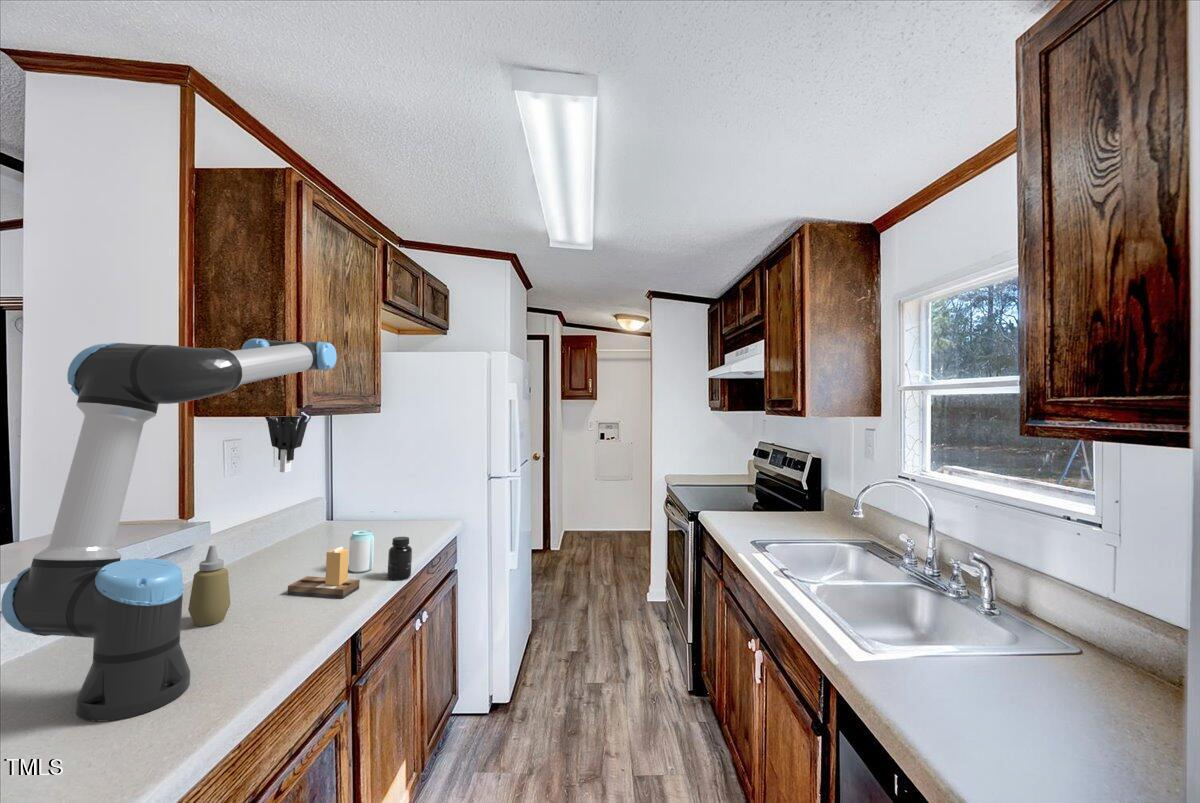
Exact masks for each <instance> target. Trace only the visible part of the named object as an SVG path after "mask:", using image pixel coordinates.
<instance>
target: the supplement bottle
mask: <svg viewBox="0 0 1200 803" xmlns="http://www.w3.org/2000/svg"><path fill="white" fill-rule="evenodd" d="M391 545H392V546H391V547H390V548H389V549H388V553H387V555H388V556H387V576H386V577H387V579H388V580H390V581H403V580H404V581H405V580H407V579H409V578H410V577H411V575H412V561H413V560H412V558H413V548H412V546H410V537H408V536H395V537H393V538H392V543H391Z"/></svg>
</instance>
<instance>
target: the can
mask: <svg viewBox="0 0 1200 803" xmlns="http://www.w3.org/2000/svg"><path fill="white" fill-rule="evenodd" d="M374 546H375V536H374V534H373V531H372V530H363V529H362V530H356V531H353V532H352V534H351V536H350V537H349V546H348V547H349V548H348V549H349V554H348V571H349V572H352V573H355V574H363V573H366V572H370V571H371V570H372V569H373V568H374V551H375V550H374V548H375V547H374Z"/></svg>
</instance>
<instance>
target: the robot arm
mask: <svg viewBox="0 0 1200 803" xmlns="http://www.w3.org/2000/svg"><path fill="white" fill-rule="evenodd" d="M337 360H338V359H337V350H336V348H335V346H334V345H333V344H332V343H331V342H322V341H305V342H296V341H276V340H269V339H264V338H250V339H248V340H246V341H245V342H244V343H243V345H242V347H241V349H237V350H229V349H227V348H223V347H210V348H208V347H207V348H204V347H193V346H182V345H181V346H180V345H171V344H170V345H169V344H145V343H129V342H128V343H127V342H126V343H125V342H111V343H100V344H99V343H98V344H94V345H91V346H89V347H86V348H84V349H82V350H81V351H80V352H78V353H77V354H76V355H75V357H73V359H72V361H71V362H70V364H69V366H68V370H67V373H66V374H67V375H66V376H67V384H68V385H70V386H71V387H70V390H71V392H73V393H74V395H75V396H77V397H78V398H77V401H76V407H77V408H78V409H79V410H80V411H81V413H82V414H83V416H84V418H83V420H82V425H81V429H80V431H79V436H78V439H77V442H76V447H75V450H74V453H73V457H72V461H71V464H70V468H69V473H68V476H67V480H66V482H65V487H64V490H63V493H62V497H61V500H60V505H59V508H58V511H57V515H56V518H55V522H54V526H53V530H52V533H51V537H50V541H49V544H48V546H47V547H45V548H44V549H43V550H41V551H40V552H38V553H37V554H35V555H34V556H33V558H32V561H31V565H30V567H27V568H26V569H23V570H22V571H20V572H19V573H18V574H17V575H16V576H17V577H16V578H13V579H11V580H10V582H9V583H8V584H7V585H6V588H5V589H4V591H3V594H2V597H1V601H0V602H1V604H0V605H1V607H0V608H1V613H2V616H3V619H4V621H6V622H5V623H7V624H8V625H9V626H10V627H11V628H12V629H15V630H17V631H19V632H22V633H26V634H27V633H29V634H32V635H36V636H41V637H42V636H43V637H49V636H60V637H62V636H63V637H73V638H74V637H77V638H87V639H88V638H91V639H93V652H92V662H91V665H90V667H89V669H88V672H87V674H86V676H85V679H84V681H83V684H82V686H81V688H80V690H79V692H78V695H77V698H76V705H75V707H76V709H75V713H76V717H78V718H79V719H81V720H84V721H89V720H90V722H99V721H98V720H109V721H116V719H117V720H120V719H121V720H122V719H127V718H132V717H135V716H139V715H141V714H145V713H147V712H151V711H154V710H156V709H158V708H161V707H164V706H165V705H167V704H170V703H171V702H173V701H174V700H176V699H178V698H179V697H181V696H182V695H183V694H184V693H185V692H186V691H187V690H188V688H189V687H190V685H191V670H190V667H189V663H188V662H187V659H186V657H185V654H184V652H183V648H182V647H181V627H182V613H183V612H182V611H183V610H182V609H183V596H184V595H183V594H184V590H185V589H184V582H183V571H182V568H181V567H180V566H179V565H178V564H177V563H175V562H172V561H170V560H166V559H160V558H154V557H153V558H152V557H149V558H148V557H146V558H142V559H141V558H131V559H123V560H122V555H121V553H120V552H118V550H117V549H116V548H115V546H114V544H115V540H116V536H117V532H118V528H119V524H120V520H121V516H122V512H123V508H124V505H125V500H126V496H127V493H128V489H129V488H128V487H129V485H130V481H131V476H132V473H133V468H134V463H135V461H136V455H137V452H138V448H139V444H140V440H141V436H142V433H143V428H144V424H145V423H146V422H148V421H149V420H151V419H153V418H154V417H157V413H158V408H159V406H160V405H167V404H168V405H171V404H181V403H187V402H192V401H196V400H202V399H206V398H209V397H214V396H217V395H222V394H227V393H230V392H233V391H235V390H236V389H238V388H239V387H240V386H241V385H246V384H250V383H254V382H260V381H264V380H270V379H274V377H279V376H284V375H289V374H294V373H298V372H303V371H304V372H307V371H312V370H313V371H314V370H315V371H327V370H332V369H333V368H334V367H335V366H336V363H337ZM159 404H160V405H159ZM301 415H303V416H300V417H265V416H264V418H265V421H266V422H267V426H268V432H269V438H270V443H271V446H272V448H273V447H274V448H277V449H278V451H277V452H278V456H277V458H278V461H279V473H289V472H292V461H294V457H295V450H296V449H298V448H301V447H302V444H303V441H304V437H305V433H306V430H307V426H308V423H309V421H310V420H311V418H312V416H311V415H309V414H308V415H307V414H306V413H305V412H304V411H303V412H301ZM114 719H115V720H114ZM92 720H94V721H92Z"/></svg>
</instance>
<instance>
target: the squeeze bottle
mask: <svg viewBox="0 0 1200 803" xmlns="http://www.w3.org/2000/svg"><path fill="white" fill-rule="evenodd" d="M216 547H217V546H216V545H210V546H209V547H208V550H207V554H206V556H205V560H203V561H202V560H201V562H199V566H198V569H199V570H198V571H197V572H195V573H193V574H194V575H193V580H192V586H191V591H190V597H189V603H188V613H189V616H190V618H191V620H192V623H193V625H194V626H197V627H208V626H207V625H209V626H212V625H211V624H213V625H216V624H219V623H222V620H223V621H224V619H225V618H226V615H227V613H228V611H229V608H230V605H231V593H230V581H229V571H228V569H226V568H225V567H224V566H225V565H224V564H225V563H224V562H225V561H224V559H222V558H219V556H218V550H217V548H216ZM218 622H219V623H218ZM215 623H216V624H215Z"/></svg>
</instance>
